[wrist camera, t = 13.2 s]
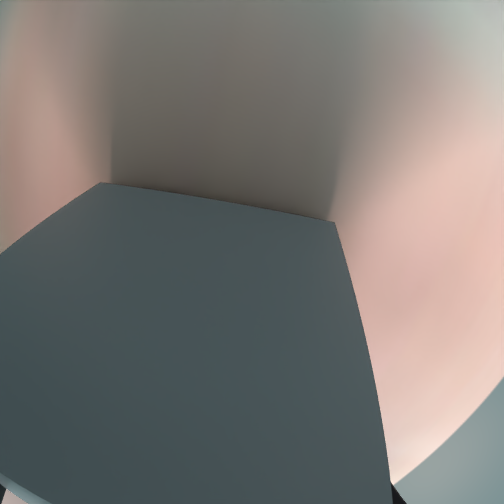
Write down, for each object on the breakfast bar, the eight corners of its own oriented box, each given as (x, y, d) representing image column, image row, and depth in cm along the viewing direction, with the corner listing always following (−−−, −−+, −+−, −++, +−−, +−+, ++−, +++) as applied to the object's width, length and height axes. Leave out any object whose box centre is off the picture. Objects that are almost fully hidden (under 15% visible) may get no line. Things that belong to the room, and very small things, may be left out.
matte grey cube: (281, 381, 13) (265, 576, 6) (116, 344, 14) (36, 508, 6) (334, 222, 10) (395, 555, 2) (100, 182, 10) (-111, 368, 2)
